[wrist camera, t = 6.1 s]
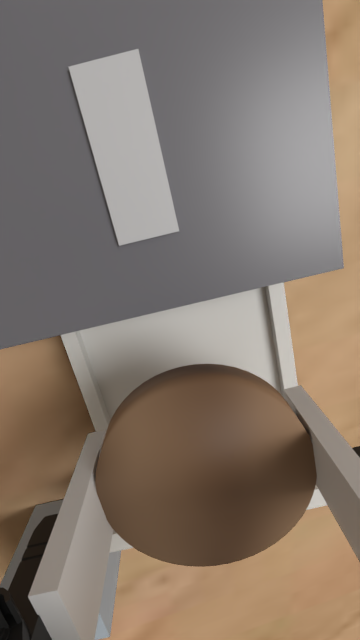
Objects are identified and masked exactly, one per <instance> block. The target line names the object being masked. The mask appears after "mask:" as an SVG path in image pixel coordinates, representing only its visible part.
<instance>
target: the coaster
mask: <svg viewBox="0 0 360 640" xmlns="http://www.w3.org/2000/svg"><path fill="white" fill-rule="evenodd" d="M316 478H317V473H316V465H315V458H314V451H313V444H312V442H311V439H310V437H309V435H308V433H307V432H306V430H305V428H304V427H303V425H302V423H301V422H300V420H299V419H298V417H297V416H296V414H295V413H294V412H293V410H292V409H291V407H290V406H289V404H288V403H287V401H286V400H285V399H284V398H283V396H282V395H281V394H280V393H279V392H278V391H277V390H276V389H275V388H274V387H273V386H272V385H271V384H269V383H268V382H266V381H265V380H263V379H262V378H260V377H258V376H256V375H254V374H252V373H250V372H248V371H245V370H242V369H239V368H236V367H231V366H226V365H220V364H193V365H187V366H181V367H178V368H174V369H171V370H167V371H165V372H163V373H160V374H158V375H156V376H154V377H152V378H150V379H149V380H147V381H145V382H144V383H142V384H141V385H140V386H138V387H137V388H136V389H134V390H133V391H132V392H131V393H130V394H129V395H128V396H127V397H126V398H125V399H124V400H123V401H122V403H121V404H120V405H119V407H118V408H117V410H116V411H115V413H114V415H113V417H112V418H111V420H110V423H109V426H108V428H107V431H106V434H105V438H104V442H103V445H102V449H101V452H100V456H99V459H98V464H97V469H96V492H97V495H98V498H99V501H100V503H101V506H102V508H103V511H104V514H105V516H106V519H107V521H108V523H109V524H110V526H111V527H112V528H113V530H114V531H115V532H116V533H117V534H118V535H119V536H120V537H121V538H122V539H123V540H124V541H126V542H127V543H128V544H129V545H131V546H132V547H134V548H135V549H137V550H138V551H140V552H142V553H144V554H146V555H148V556H150V557H153V558H155V559H158V560H161V561H164V562H168V563H172V564H177V565H185V566H216V565H222V564H228V563H232V562H235V561H239V560H242V559H245V558H248V557H250V556H253V555H255V554H257V553H259V552H261V551H263V550H265V549H267V548H268V547H270V546H271V545H273V544H275V543H276V542H277V541H279V540H280V539H281V538H282V537H284V536H285V535H286V534H287V533H288V532H289V531H290V530H291V529H292V528H293V527H294V526H295V525H296V524H297V522H298V521H299V520H300V518H301V517H302V516H303V514H304V512H305V511H306V509H307V507H308V505H309V503H310V501H311V498H312V496H313V493H314V489H315V485H316Z"/></svg>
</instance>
